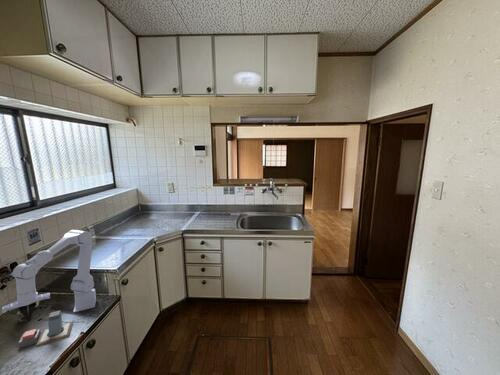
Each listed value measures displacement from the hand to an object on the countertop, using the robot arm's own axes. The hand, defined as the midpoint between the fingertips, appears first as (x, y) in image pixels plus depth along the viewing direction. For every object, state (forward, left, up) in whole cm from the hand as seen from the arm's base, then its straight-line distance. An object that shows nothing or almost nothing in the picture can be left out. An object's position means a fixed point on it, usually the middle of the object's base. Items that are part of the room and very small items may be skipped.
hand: (28, 319), depth 96 cm
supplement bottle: (+7, -31, -10) cm, 33 cm away
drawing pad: (-9, 0, -10) cm, 14 cm away
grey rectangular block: (-9, 0, -9) cm, 13 cm away
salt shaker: (+7, -21, -10) cm, 24 cm away
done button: (0, 0, -8) cm, 8 cm away
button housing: (0, 0, -10) cm, 10 cm away
